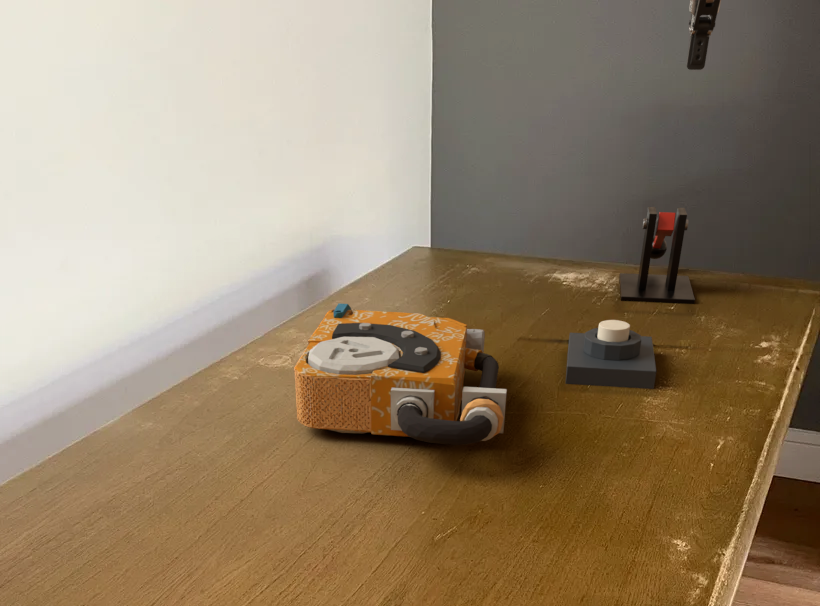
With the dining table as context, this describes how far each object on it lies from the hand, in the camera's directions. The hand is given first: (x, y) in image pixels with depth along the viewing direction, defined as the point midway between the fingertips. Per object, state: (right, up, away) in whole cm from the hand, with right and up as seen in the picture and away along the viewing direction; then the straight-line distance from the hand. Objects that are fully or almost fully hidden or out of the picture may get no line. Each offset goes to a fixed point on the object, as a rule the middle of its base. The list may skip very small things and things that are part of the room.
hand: (694, 68), depth 124 cm
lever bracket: (-1, -25, +16) cm, 29 cm away
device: (-38, -48, -18) cm, 64 cm away
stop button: (-13, -38, -10) cm, 41 cm away
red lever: (0, -18, +15) cm, 23 cm away
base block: (-13, -41, -8) cm, 44 cm away
